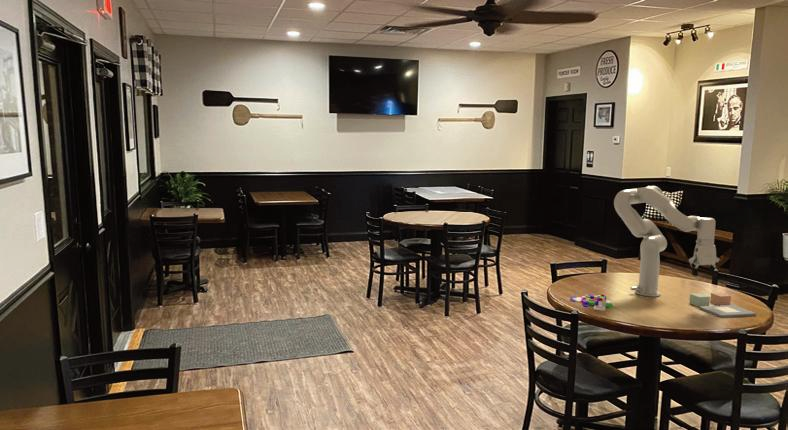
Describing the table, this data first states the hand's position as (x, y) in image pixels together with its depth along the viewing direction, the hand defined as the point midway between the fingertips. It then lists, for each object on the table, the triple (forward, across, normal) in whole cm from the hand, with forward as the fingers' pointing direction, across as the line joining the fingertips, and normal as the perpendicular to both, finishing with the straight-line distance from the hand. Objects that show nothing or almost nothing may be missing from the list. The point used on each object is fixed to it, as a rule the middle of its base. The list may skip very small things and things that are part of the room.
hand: (703, 275), depth 289 cm
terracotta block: (+16, +12, 0) cm, 20 cm away
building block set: (+15, -54, +13) cm, 58 cm away
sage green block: (+16, 0, +1) cm, 16 cm away
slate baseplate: (+16, +4, -13) cm, 21 cm away
